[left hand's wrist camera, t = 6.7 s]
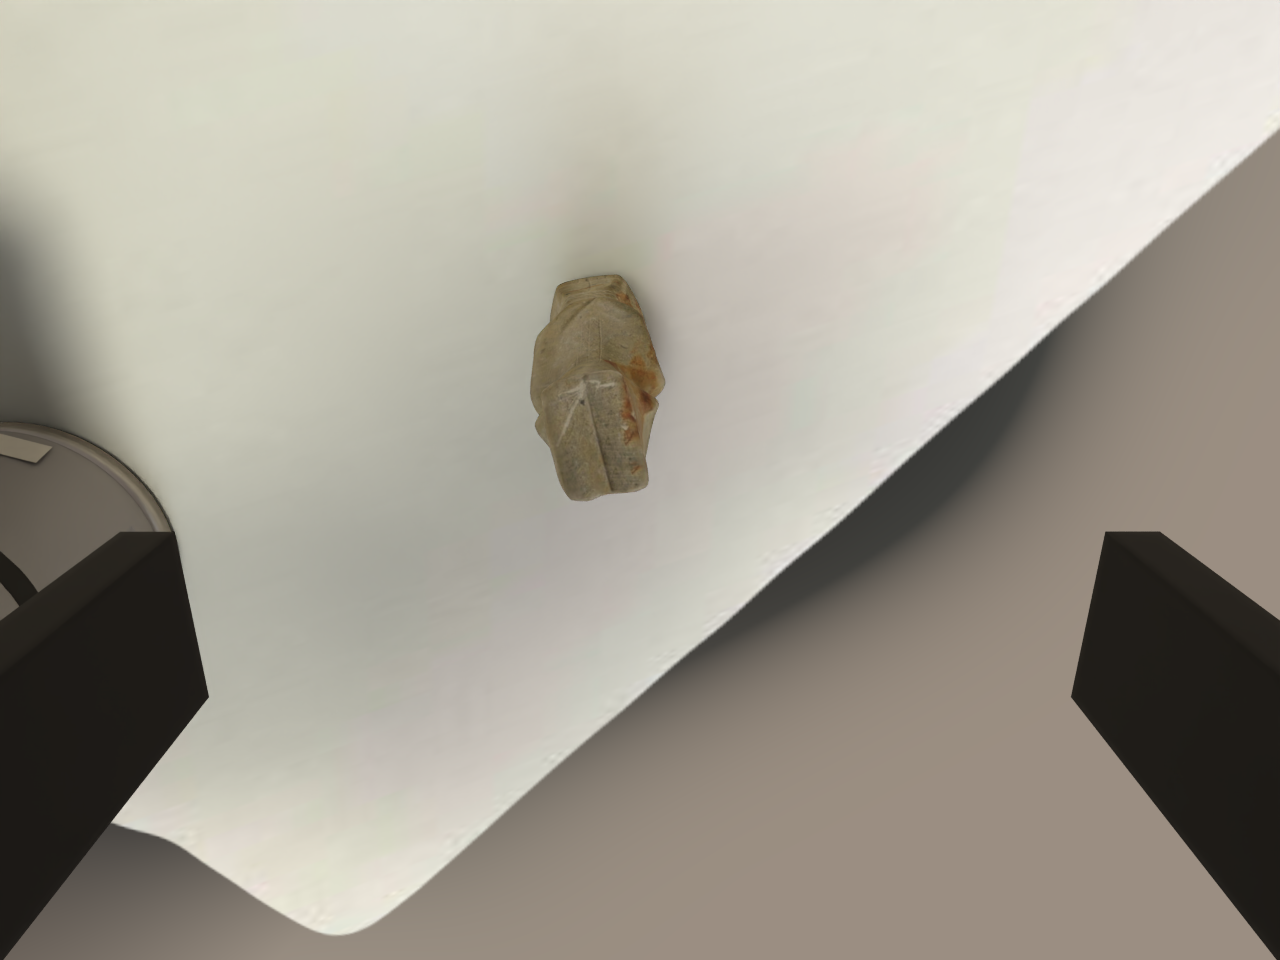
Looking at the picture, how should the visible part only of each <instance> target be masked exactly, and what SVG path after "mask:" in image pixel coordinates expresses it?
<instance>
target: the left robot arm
mask: <svg viewBox="0 0 1280 960" xmlns="http://www.w3.org/2000/svg"><path fill="white" fill-rule="evenodd" d="M208 698H209V695H208V690H207V685H206V680H205V676H204V671H203V666H202V661H201V656H200V652H199V647H198V642H197V637H196V632H195V628H194V623H193V618H192V613H191V608H190V604H189V599H188V594H187V589H186V584H185V580H184V575H183V570H182V565H181V560H180V556H179V551H178V546H177V541H176V536H175V532H171V530H170V527H169V525H168V522H167V520H166V518H165V516H164V514H163V513H162V511H161V509H160V507H159V506H158V504H157V503H156V501H155V500H154V498H153V497H152V495H151V494H150V493H149V492H148V490H147V489H146V488H145V486H144V485H143V484H142V483H141V482H140V481H139V480H138V479H137V478H136V477H135V476H134V475H133V474H132V473H131V472H130V471H129V470H128V469H127V468H126V467H125V466H123V465H122V464H121V463H120V462H118V461H117V460H116V459H114V458H113V457H112V456H110V455H109V454H107V453H106V452H104V451H103V450H101V449H100V448H98V447H96V446H94V445H93V444H91V443H89V442H87V441H85V440H83V439H81V438H78V437H76V436H74V435H71V434H69V433H66V432H63V431H60V430H57V429H53V428H50V427H46V426H41V425H36V424H29V423H19V422H2V423H0V960H3V959H4V958H5V957H6V956H7V954H8V953H9V952H10V950H11V949H12V948H13V947H14V945H15V944H16V943H17V942H18V940H19V939H20V938H21V936H22V935H23V934H24V933H25V931H26V930H27V929H28V928H29V926H30V925H31V924H32V922H33V921H34V920H35V919H36V917H37V916H38V915H39V913H40V912H41V911H42V910H43V908H44V907H45V906H46V904H47V903H48V902H49V901H50V899H51V898H52V897H53V896H54V894H55V893H56V892H57V890H58V889H59V888H60V887H61V885H62V884H63V883H64V882H65V880H66V879H67V878H68V876H69V875H70V874H71V873H72V871H73V870H74V869H75V867H76V866H77V865H78V864H79V862H80V861H81V860H82V858H83V857H84V856H85V855H86V853H87V852H88V851H89V850H90V848H91V847H92V846H93V844H94V843H95V842H96V841H97V839H98V838H99V837H100V835H101V834H102V833H103V832H104V830H105V829H106V828H107V827H108V825H109V824H110V823H111V821H112V820H113V819H114V818H115V816H116V815H117V814H118V813H119V811H120V810H121V809H122V807H123V806H124V805H125V804H126V802H127V801H128V800H129V798H130V797H131V796H132V795H133V793H134V792H135V791H136V790H137V788H138V787H139V786H140V784H141V783H142V782H143V781H144V779H145V778H146V777H147V775H148V774H149V773H150V772H151V770H152V769H153V768H154V767H155V765H156V764H157V763H158V761H159V760H160V759H161V758H162V756H163V755H164V754H165V752H166V751H167V750H168V749H169V747H170V746H171V745H172V744H173V742H174V741H175V740H176V738H177V737H178V736H179V735H180V733H181V732H182V731H183V729H184V728H185V727H186V726H187V724H188V723H189V722H190V721H191V719H192V718H193V717H194V715H195V714H196V713H197V712H198V710H199V709H200V708H201V707H202V705H203V704H204V703H205V701H206V700H207V699H208ZM1071 698H1072V699H1073V700H1074V701H1075V703H1076V704H1077V705H1078V706H1079V708H1080V709H1081V710H1082V712H1083V713H1084V714H1085V715H1086V717H1087V718H1088V719H1089V721H1090V722H1091V723H1092V724H1093V726H1094V727H1095V728H1096V730H1097V731H1098V732H1099V733H1100V735H1101V736H1102V737H1103V738H1104V740H1105V741H1106V742H1107V743H1108V745H1109V746H1110V747H1111V749H1112V750H1113V751H1114V752H1115V754H1116V755H1117V756H1118V758H1119V759H1120V760H1121V761H1122V763H1123V764H1124V765H1125V767H1126V768H1127V769H1128V770H1129V772H1130V773H1131V774H1132V775H1133V777H1134V778H1135V779H1136V781H1137V782H1138V783H1139V784H1140V786H1141V787H1142V788H1143V790H1144V791H1145V792H1146V793H1147V795H1148V796H1149V797H1150V798H1151V800H1152V801H1153V802H1154V804H1155V805H1156V806H1157V807H1158V809H1159V810H1160V811H1161V813H1162V814H1163V815H1164V816H1165V818H1166V819H1167V820H1168V821H1169V823H1170V824H1171V825H1172V827H1173V828H1174V829H1175V830H1176V832H1177V833H1178V834H1179V836H1180V837H1181V838H1182V839H1183V841H1184V842H1185V843H1186V844H1187V846H1188V847H1189V848H1190V850H1191V851H1192V852H1193V853H1194V855H1195V856H1196V857H1197V859H1198V860H1199V861H1200V862H1201V864H1202V865H1203V866H1204V867H1205V869H1206V870H1207V871H1208V873H1209V874H1210V875H1211V876H1212V878H1213V879H1214V880H1215V882H1216V883H1217V884H1218V885H1219V887H1220V888H1221V889H1222V890H1223V892H1224V893H1225V894H1226V896H1227V897H1228V898H1229V899H1230V901H1231V902H1232V903H1233V905H1234V906H1235V907H1236V908H1237V910H1238V911H1239V912H1240V913H1241V915H1242V916H1243V917H1244V919H1245V920H1246V921H1247V922H1248V924H1249V925H1250V926H1251V927H1252V929H1253V930H1254V931H1255V933H1256V934H1257V935H1258V936H1259V938H1260V939H1261V940H1262V941H1263V943H1264V944H1265V945H1266V947H1267V948H1268V949H1269V951H1270V952H1271V953H1272V954H1273V956H1274V957H1275V958H1276V959H1277V960H1280V620H1278V619H1277V618H1276V617H1274V616H1273V615H1272V614H1270V613H1269V612H1267V611H1266V610H1265V609H1263V608H1262V607H1261V606H1259V605H1258V604H1257V603H1255V602H1254V601H1253V600H1251V599H1250V598H1249V597H1247V596H1246V595H1245V594H1243V593H1242V592H1240V591H1239V590H1238V589H1236V588H1235V587H1234V586H1232V585H1231V584H1230V583H1228V582H1227V581H1226V580H1224V579H1223V578H1222V577H1220V576H1219V575H1218V574H1216V573H1215V572H1214V571H1212V570H1211V569H1209V568H1208V567H1207V566H1205V565H1204V564H1203V563H1201V562H1200V561H1199V560H1197V559H1196V558H1195V557H1193V556H1192V555H1191V554H1189V553H1188V552H1187V551H1185V550H1184V549H1183V548H1181V547H1180V546H1178V545H1177V544H1176V543H1174V542H1173V541H1172V540H1170V539H1169V538H1168V537H1166V536H1165V535H1164V534H1162V533H1161V532H1105V536H1104V541H1103V546H1102V551H1101V556H1100V560H1099V565H1098V570H1097V575H1096V580H1095V584H1094V589H1093V594H1092V599H1091V604H1090V609H1089V613H1088V618H1087V623H1086V628H1085V632H1084V637H1083V642H1082V647H1081V652H1080V656H1079V661H1078V666H1077V671H1076V676H1075V680H1074V685H1073V690H1072V695H1071Z"/></svg>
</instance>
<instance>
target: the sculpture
mask: <svg viewBox="0 0 1280 960" xmlns="http://www.w3.org/2000/svg"><path fill="white" fill-rule="evenodd" d="M664 386H665V379H664V376H663V373H662V371H661V368H660V365H659V363H658V360H657V357H656V354H655V350H654V348H653V345H652V342H651V338H650V335H649V333H648V330H647V327H646V324H645V320H644V317H643V314H642V312H641V309H640V307H639V305H638V302H637V300H636V298H635V296H634V294H633V292H632V291H631V289H630V288H629V286H628V284H627V283H626V281H625V280H624V279H623V278H622V277H621V276H619V275H604V276H595V277H588V278H582V279H577V280H573V281H569V282H565V283H562V284H560V285H559V286H558V287H557V288H556V291H555V294H554V299H553V304H552V309H551V316H550V323H549V324H548V325H547V326H546V327H545V328H544V329H543V330H542V331H541V332H540V334H539V335H538V337H537V339H536V342H535V348H534V359H533V367H532V376H531V389H530V394H531V400H532V403H533V405H534V408H535V410H536V411H537V413H538V414H539V417H538V419H537V420H536V423H535V427H536V430H537V432H538V434H539V435H540V437H541V438H542V439H543V440H544V441H545V442H546V443H547V445H548V446H549V447H550V449H551V453H552V456H553V460H554V464H555V468H556V472H557V476H558V478H559V481H560V484H561V486H562V488H563V490H564V491H565V493H566V494H567V496H568V497H569V498H570V499H571V500H575V501H590V500H593V499H595V498H598V497H600V496H603V495H607V494H616V493H628V492H635V491H638V490H641V489H643V488H645V487H646V486H647V485H648V470H647V464H646V459H645V457H646V452H647V448H648V442H649V437H650V432H651V427H652V424H653V420H654V416H655V414H656V411H657V409H658V406H659V403H658V401H657V400H656V398H655V397H656V396H657V395H658V394H659V393H660V392H661V391H662V390H663V388H664Z"/></svg>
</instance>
